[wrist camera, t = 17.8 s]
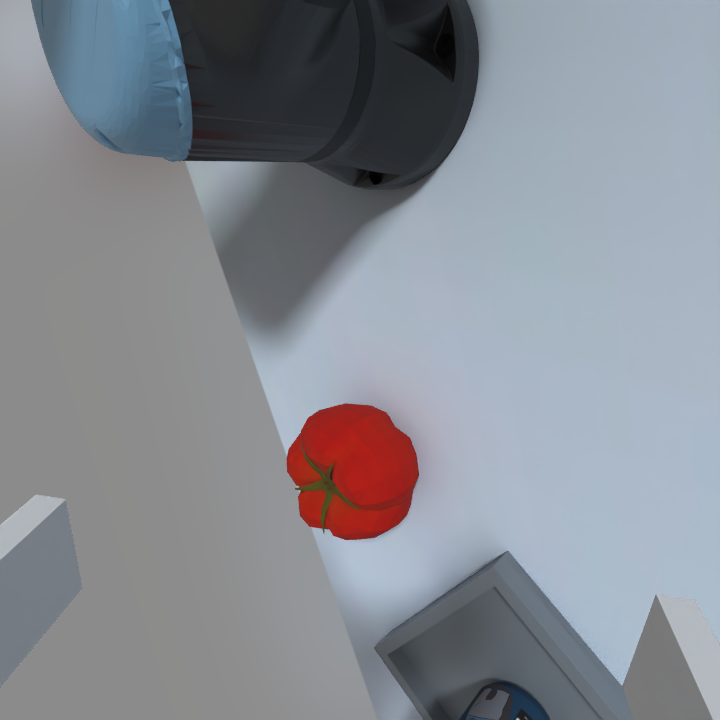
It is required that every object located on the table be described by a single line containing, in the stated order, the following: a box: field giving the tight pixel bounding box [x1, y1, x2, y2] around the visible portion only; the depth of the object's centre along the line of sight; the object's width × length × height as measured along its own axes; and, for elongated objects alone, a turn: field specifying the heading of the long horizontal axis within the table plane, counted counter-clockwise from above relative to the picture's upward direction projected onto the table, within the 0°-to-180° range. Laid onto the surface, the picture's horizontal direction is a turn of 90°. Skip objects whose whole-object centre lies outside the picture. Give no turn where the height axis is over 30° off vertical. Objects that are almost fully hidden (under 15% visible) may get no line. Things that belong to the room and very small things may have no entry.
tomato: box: [287, 404, 419, 540], centre depth 46 cm, size 11×12×9 cm
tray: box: [374, 551, 633, 720], centre depth 45 cm, size 22×20×2 cm
